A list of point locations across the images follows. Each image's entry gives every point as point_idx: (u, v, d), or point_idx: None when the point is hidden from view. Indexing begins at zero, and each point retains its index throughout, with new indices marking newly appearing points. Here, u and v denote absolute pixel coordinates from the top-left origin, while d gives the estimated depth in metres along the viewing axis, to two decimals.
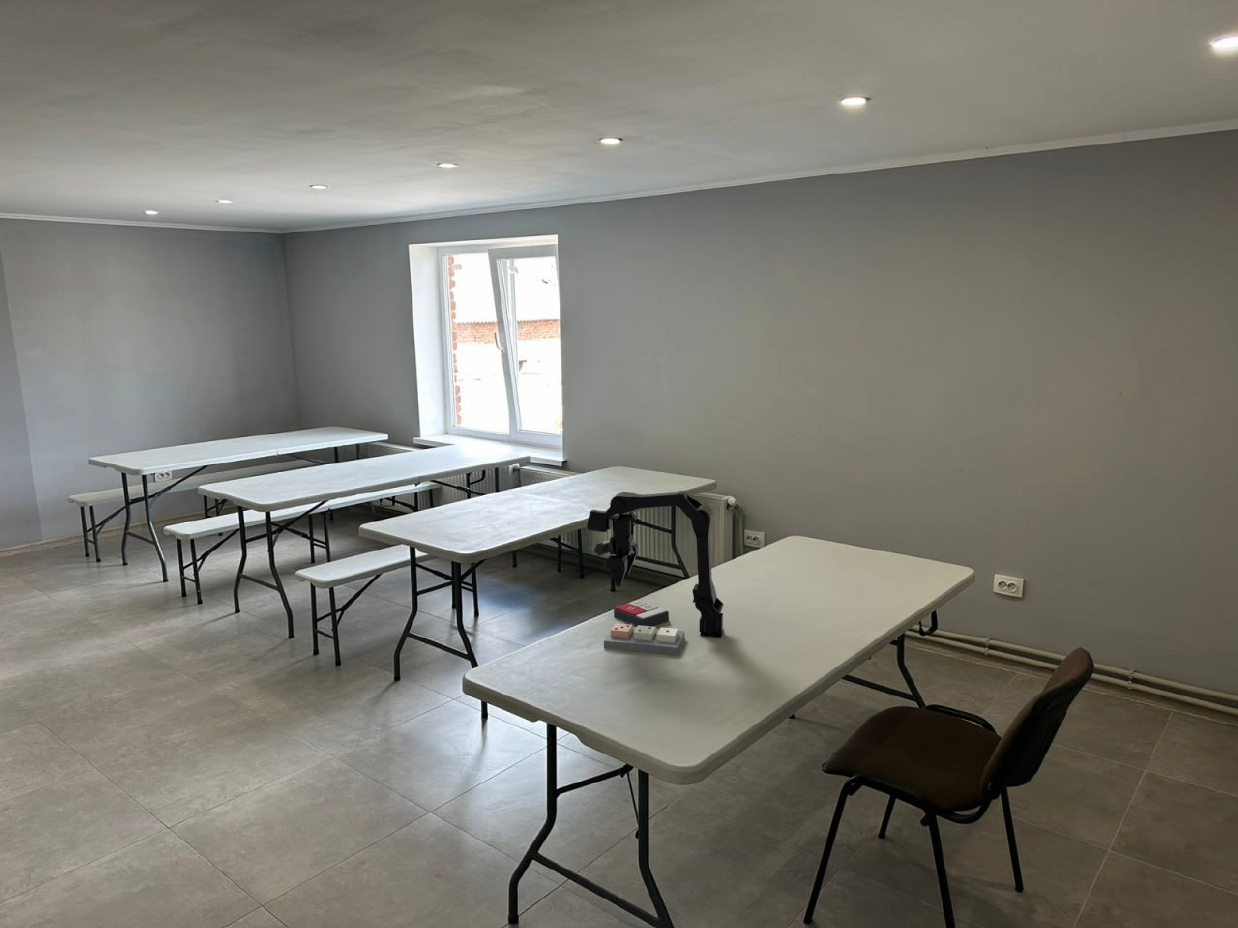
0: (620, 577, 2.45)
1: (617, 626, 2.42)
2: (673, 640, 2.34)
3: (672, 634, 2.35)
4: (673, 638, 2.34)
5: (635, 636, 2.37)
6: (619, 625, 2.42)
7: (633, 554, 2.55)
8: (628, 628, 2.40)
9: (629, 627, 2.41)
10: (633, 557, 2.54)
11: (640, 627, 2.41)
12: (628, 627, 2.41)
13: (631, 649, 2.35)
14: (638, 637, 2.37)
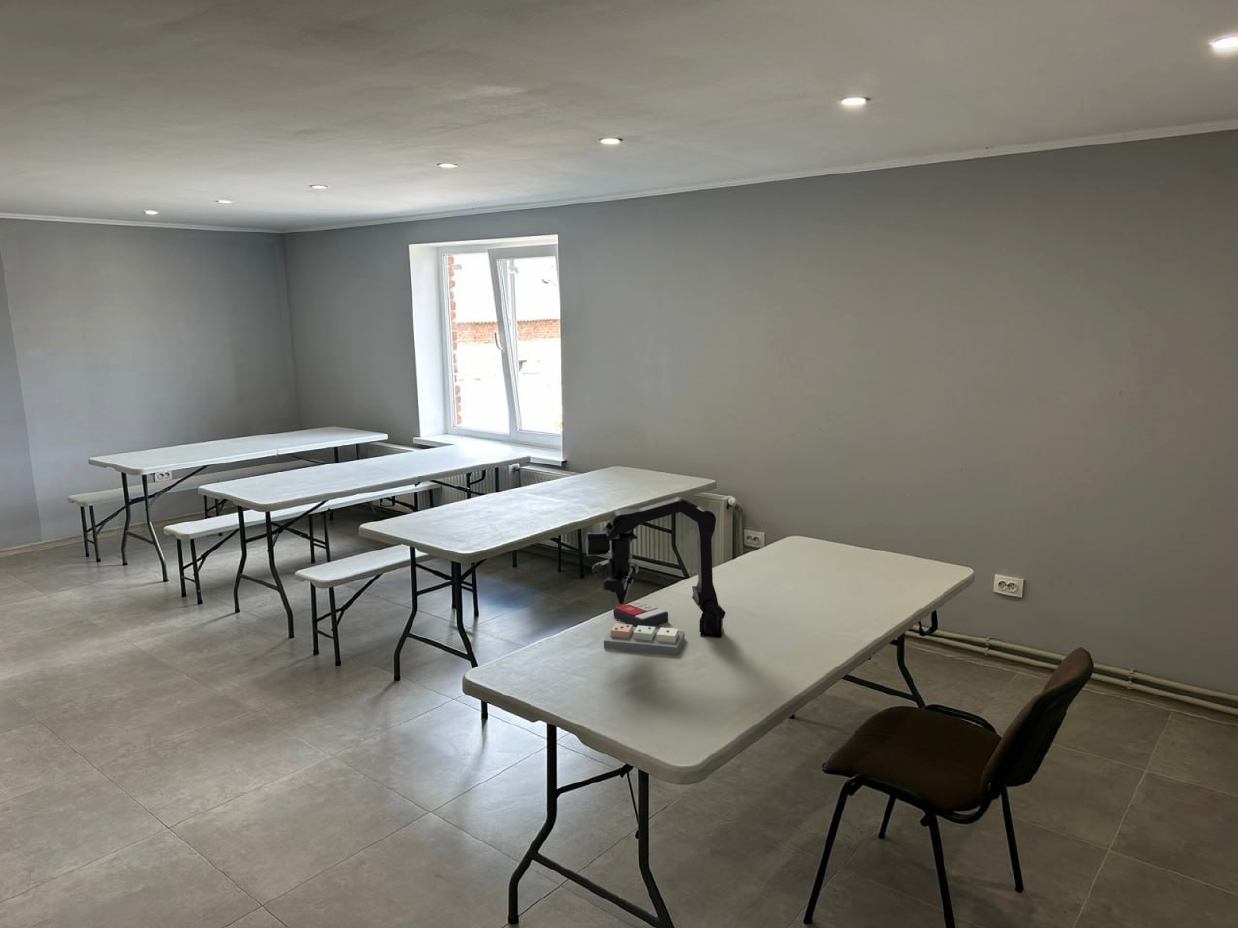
0: (623, 595, 2.37)
1: (617, 626, 2.42)
2: (673, 640, 2.34)
3: (672, 634, 2.35)
4: (673, 638, 2.34)
5: (635, 636, 2.37)
6: (619, 625, 2.42)
7: (630, 579, 2.40)
8: (628, 628, 2.40)
9: (629, 627, 2.41)
10: (630, 582, 2.38)
11: (640, 627, 2.41)
12: (628, 627, 2.41)
13: (631, 649, 2.35)
14: (638, 637, 2.37)
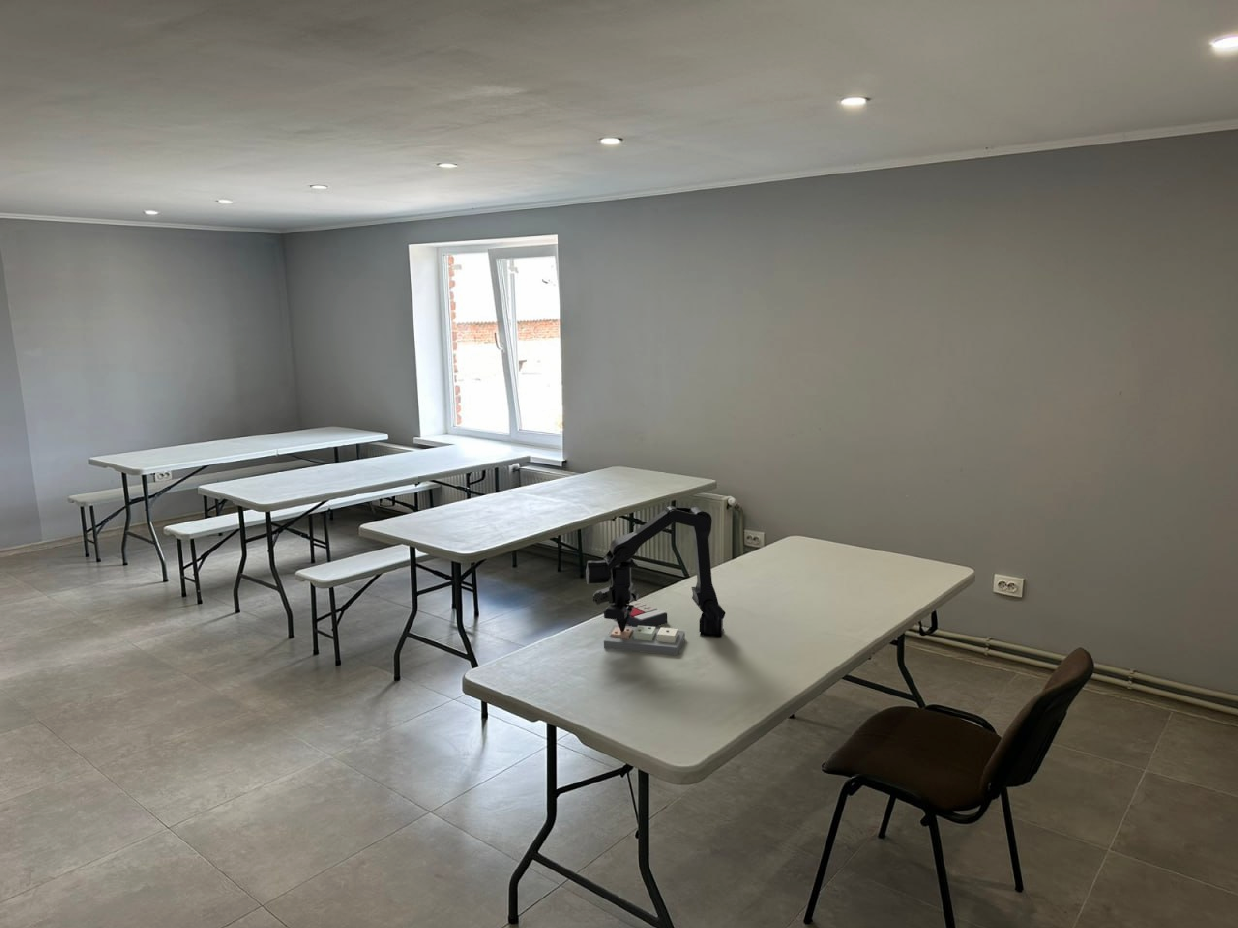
0: (624, 622, 2.39)
1: (617, 630, 2.42)
2: (673, 640, 2.34)
3: (672, 634, 2.35)
4: (673, 638, 2.34)
5: (635, 636, 2.37)
6: (619, 629, 2.43)
7: (630, 607, 2.41)
8: (628, 632, 2.40)
9: (629, 631, 2.41)
10: (630, 610, 2.40)
11: (640, 627, 2.41)
12: (628, 631, 2.41)
13: (631, 649, 2.35)
14: (638, 637, 2.37)
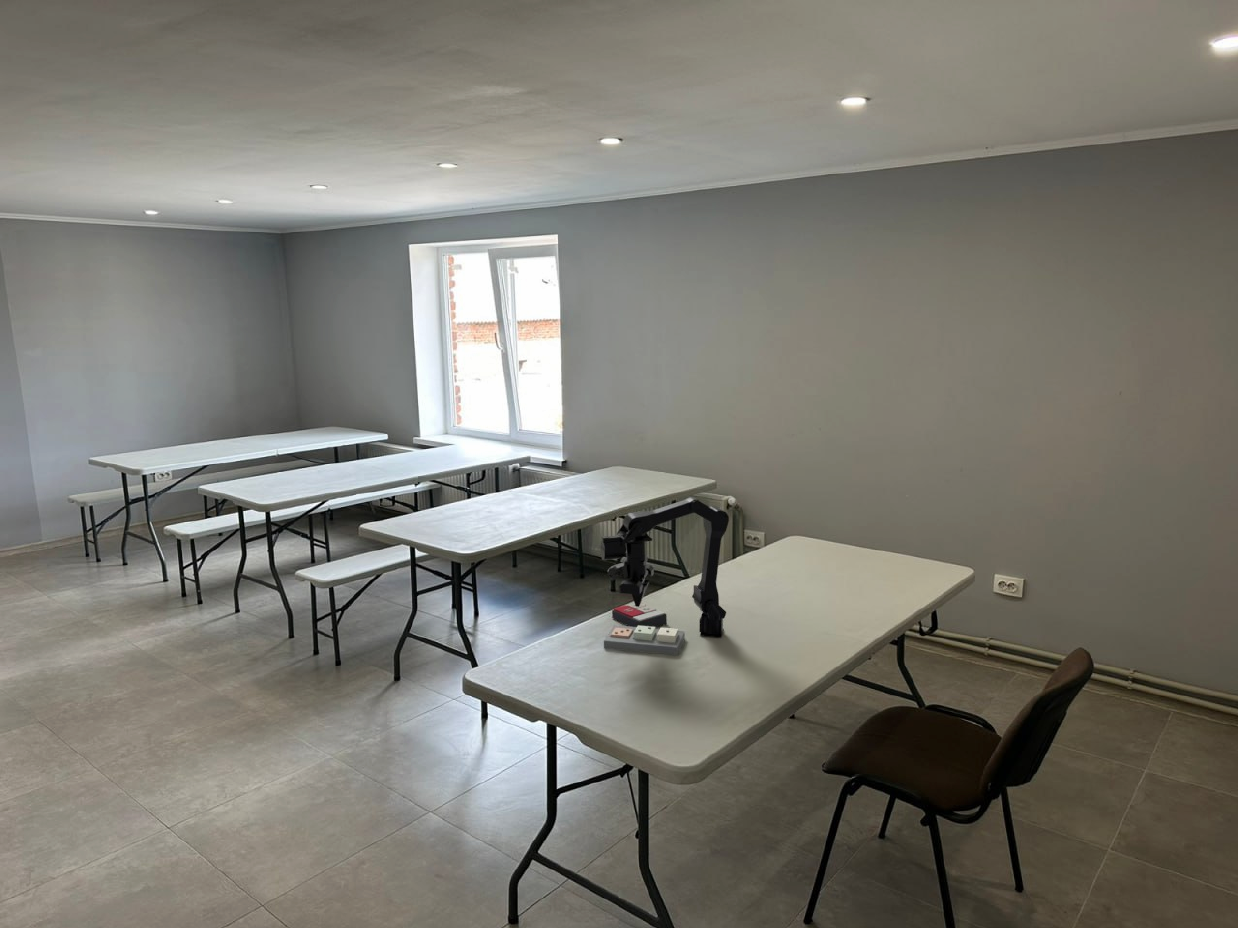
0: (639, 597, 2.37)
1: (617, 630, 2.42)
2: (673, 640, 2.34)
3: (672, 634, 2.35)
4: (673, 638, 2.34)
5: (635, 636, 2.37)
6: (619, 629, 2.43)
7: (645, 582, 2.38)
8: (628, 632, 2.40)
9: (629, 631, 2.41)
10: (645, 585, 2.37)
11: (640, 627, 2.41)
12: (628, 631, 2.41)
13: (631, 649, 2.35)
14: (638, 637, 2.37)
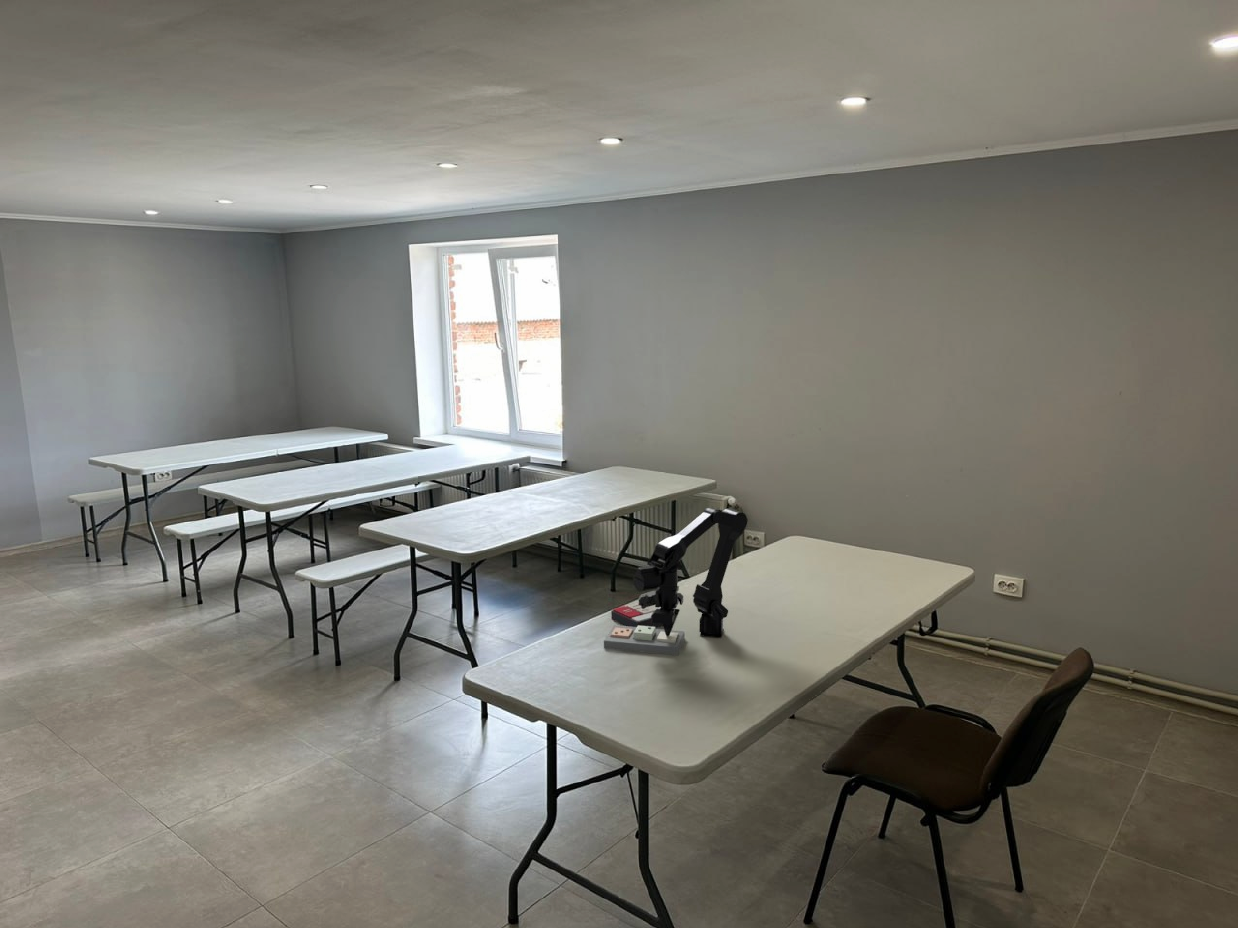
0: (670, 626, 2.36)
1: (617, 630, 2.42)
2: None
3: (672, 638, 2.35)
4: (674, 642, 2.34)
5: (635, 636, 2.37)
6: (619, 629, 2.43)
7: (676, 611, 2.37)
8: (628, 632, 2.40)
9: (629, 631, 2.41)
10: (676, 614, 2.36)
11: (640, 627, 2.41)
12: (628, 631, 2.41)
13: (631, 649, 2.35)
14: (638, 637, 2.37)
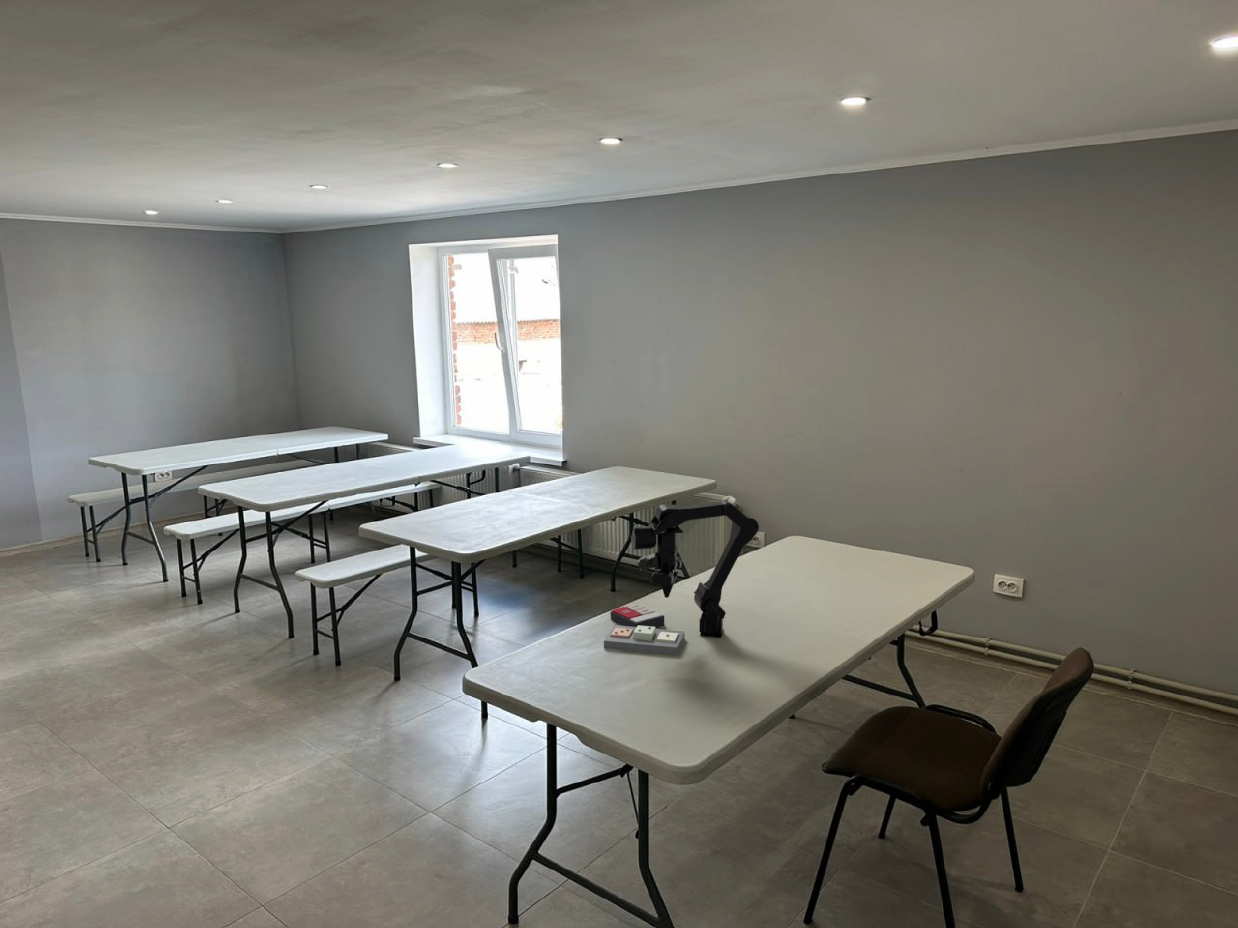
0: (669, 588, 2.40)
1: (617, 630, 2.42)
2: None
3: (672, 638, 2.35)
4: (674, 642, 2.35)
5: (635, 636, 2.37)
6: (619, 629, 2.43)
7: (674, 573, 2.41)
8: (628, 632, 2.40)
9: (629, 631, 2.41)
10: (675, 576, 2.40)
11: (640, 627, 2.41)
12: (628, 631, 2.41)
13: (631, 649, 2.35)
14: (638, 637, 2.37)
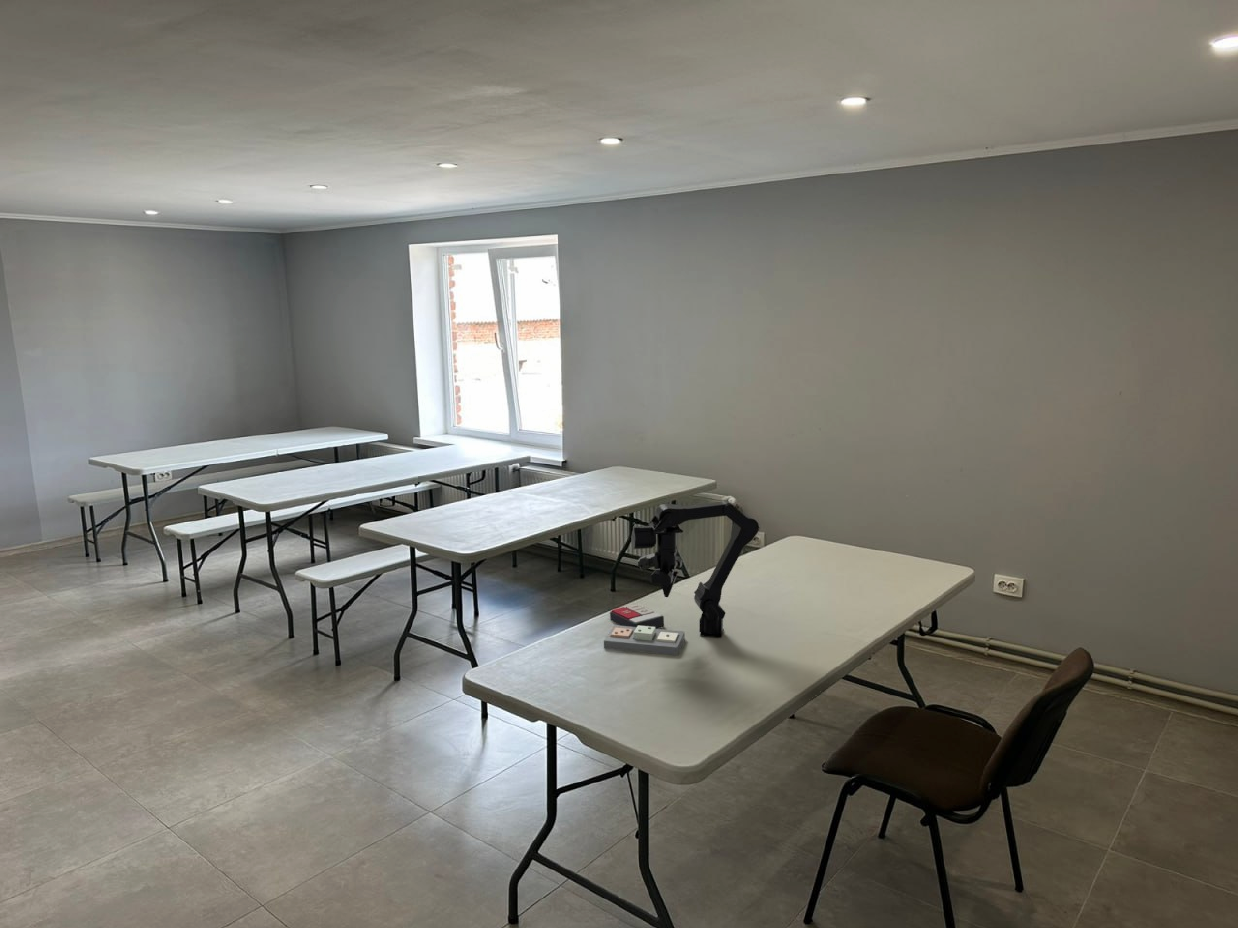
0: (669, 588, 2.40)
1: (617, 630, 2.42)
2: None
3: (672, 638, 2.35)
4: (674, 642, 2.35)
5: (635, 636, 2.37)
6: (619, 629, 2.43)
7: (674, 573, 2.42)
8: (628, 632, 2.40)
9: (629, 631, 2.41)
10: (674, 576, 2.40)
11: (640, 627, 2.41)
12: (628, 631, 2.41)
13: (631, 649, 2.35)
14: (638, 637, 2.37)
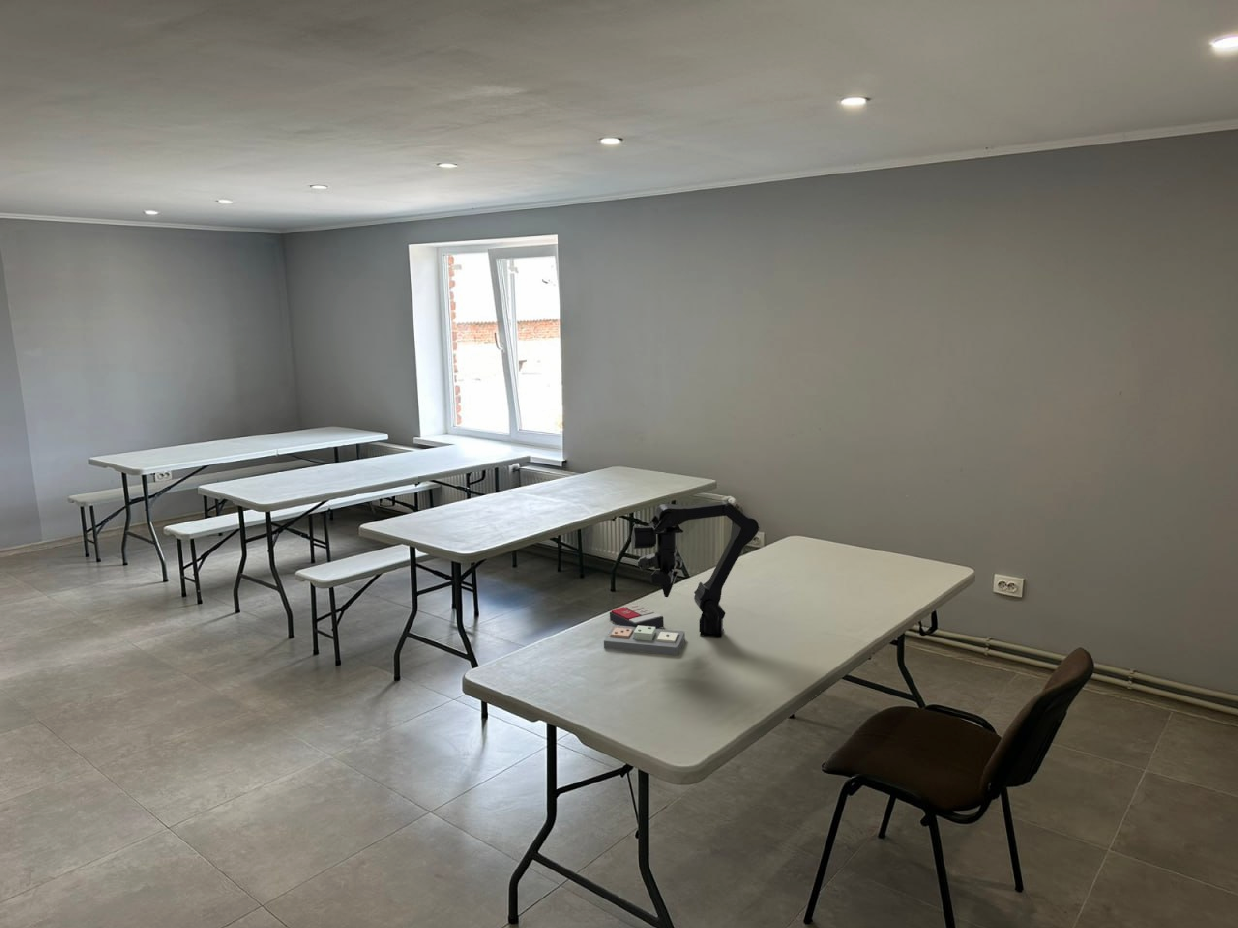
0: (669, 588, 2.40)
1: (617, 630, 2.42)
2: None
3: (672, 638, 2.35)
4: (674, 642, 2.35)
5: (635, 636, 2.37)
6: (619, 629, 2.43)
7: (674, 573, 2.42)
8: (628, 632, 2.40)
9: (629, 631, 2.41)
10: (674, 576, 2.40)
11: (640, 627, 2.41)
12: (628, 631, 2.41)
13: (631, 649, 2.35)
14: (638, 637, 2.37)
